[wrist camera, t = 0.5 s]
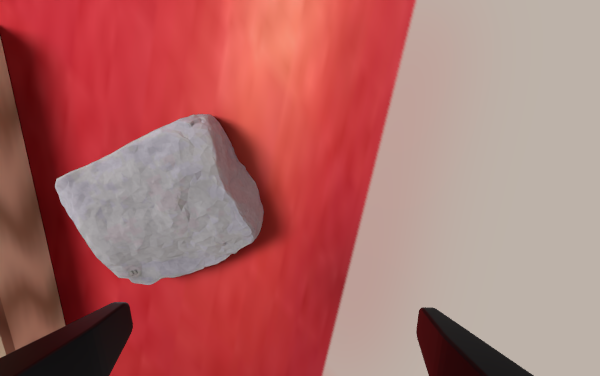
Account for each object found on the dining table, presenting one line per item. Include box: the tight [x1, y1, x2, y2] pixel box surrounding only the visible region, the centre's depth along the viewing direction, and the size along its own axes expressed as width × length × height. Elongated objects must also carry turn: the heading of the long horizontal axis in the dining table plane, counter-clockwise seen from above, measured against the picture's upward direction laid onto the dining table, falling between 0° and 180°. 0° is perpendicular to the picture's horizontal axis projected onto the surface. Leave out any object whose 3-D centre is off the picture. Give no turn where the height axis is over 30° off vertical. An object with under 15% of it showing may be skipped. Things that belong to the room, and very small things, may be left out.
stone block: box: [55, 114, 264, 285], centre depth 20 cm, size 12×5×10 cm
